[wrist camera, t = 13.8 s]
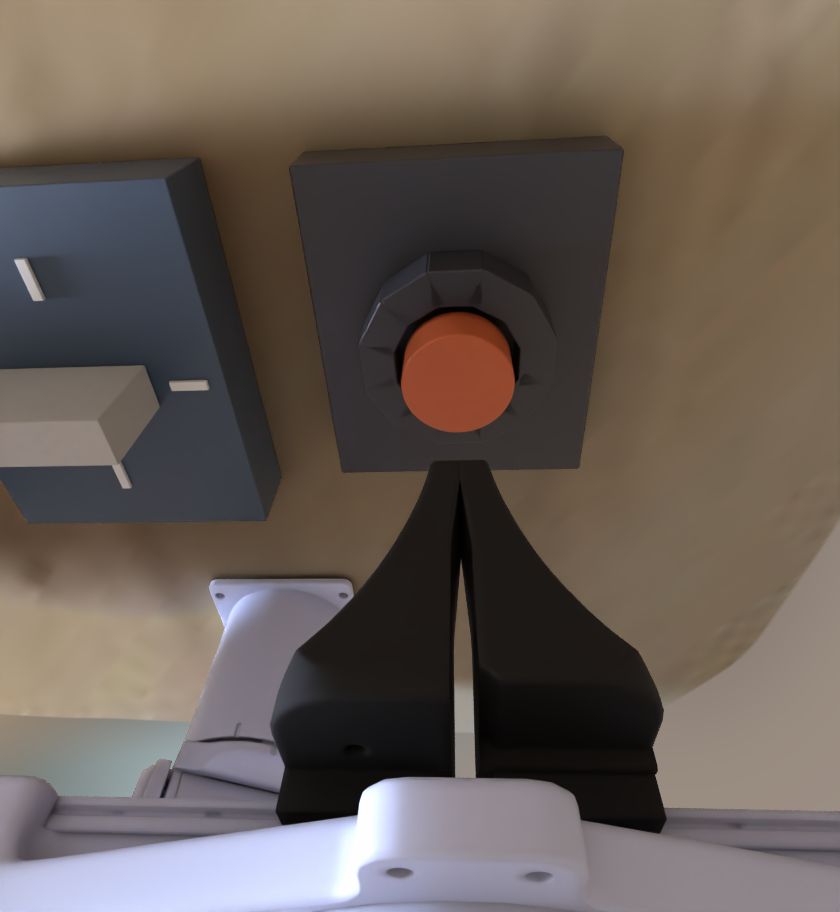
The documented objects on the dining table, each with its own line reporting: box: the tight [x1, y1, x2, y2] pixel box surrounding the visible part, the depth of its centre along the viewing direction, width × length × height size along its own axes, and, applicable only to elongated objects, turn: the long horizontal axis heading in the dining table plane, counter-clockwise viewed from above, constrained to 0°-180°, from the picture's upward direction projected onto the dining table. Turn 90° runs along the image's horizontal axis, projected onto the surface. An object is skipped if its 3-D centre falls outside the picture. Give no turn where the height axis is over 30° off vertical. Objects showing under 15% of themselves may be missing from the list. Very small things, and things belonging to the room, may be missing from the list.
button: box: [401, 311, 515, 432], centre depth 19 cm, size 4×4×2 cm
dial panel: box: [0, 157, 281, 524], centre depth 23 cm, size 14×11×3 cm
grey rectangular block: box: [0, 365, 160, 467], centre depth 20 cm, size 6×2×4 cm, turn 93°
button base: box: [289, 136, 624, 473], centre depth 21 cm, size 12×10×4 cm
